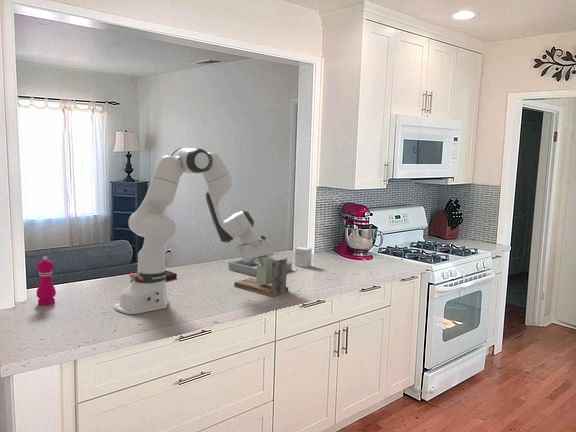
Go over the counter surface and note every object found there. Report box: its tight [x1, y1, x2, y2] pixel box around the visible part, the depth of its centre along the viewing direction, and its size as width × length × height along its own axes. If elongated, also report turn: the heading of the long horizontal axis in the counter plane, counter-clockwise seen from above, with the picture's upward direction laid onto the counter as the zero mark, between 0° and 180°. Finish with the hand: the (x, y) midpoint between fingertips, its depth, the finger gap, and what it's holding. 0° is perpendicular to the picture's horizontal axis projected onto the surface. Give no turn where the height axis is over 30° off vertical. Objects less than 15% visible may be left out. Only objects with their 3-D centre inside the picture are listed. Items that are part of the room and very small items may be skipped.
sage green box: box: [255, 256, 274, 285], centre depth 238 cm, size 4×6×12 cm
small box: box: [294, 246, 312, 269], centre depth 290 cm, size 8×6×10 cm
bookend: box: [233, 258, 289, 297], centre depth 239 cm, size 12×24×16 cm, turn 52°
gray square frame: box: [228, 258, 293, 278], centre depth 277 cm, size 25×25×4 cm
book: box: [129, 269, 178, 283], centre depth 249 cm, size 12×19×3 cm, turn 146°
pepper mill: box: [36, 255, 57, 306], centre depth 205 cm, size 7×7×20 cm
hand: (265, 265), depth 237 cm, fingers closed on sage green box, 4 cm apart
